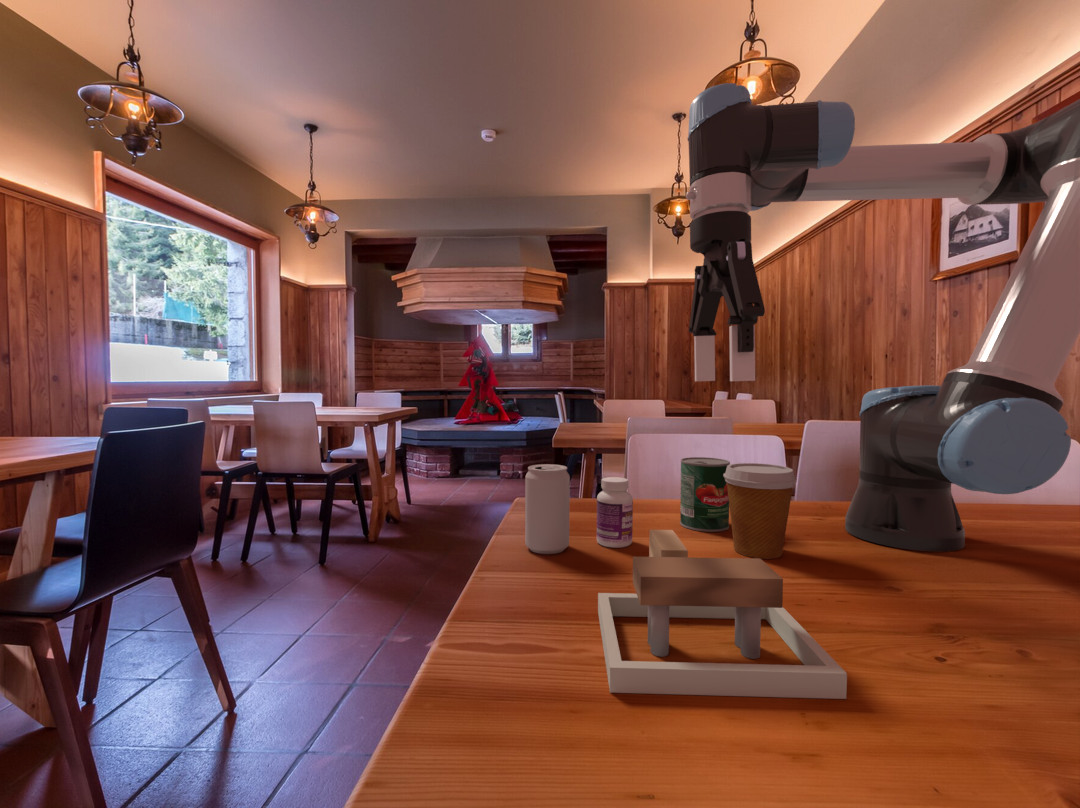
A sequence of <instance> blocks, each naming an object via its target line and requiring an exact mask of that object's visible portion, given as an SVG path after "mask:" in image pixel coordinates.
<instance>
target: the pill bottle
mask: <svg viewBox="0 0 1080 808" xmlns="http://www.w3.org/2000/svg"><path fill="white" fill-rule="evenodd" d="M600 484H601V485H600V486H601V487H600V488H601V489H602V491H600V492H599V493H598V494H597V496H596V542H597V543H598V544H599V545H601V546H602V547H606V548H613V549H617V548H618V549H619V548H620V549H621V548H626V547H629V546H630V545H631V544H632V543H633V525H634V524H633V523H634V522H633V521H634V519H633V518H634V517H633V515H634V511H633V510H634V508H633V504H634V503H633V502H634V500H633V496H632V495H631V493H629V492H628V489H629V479H628V478H624V477H618V476H617V477H616V476H612V477H611V476H610V477H609V476H607V477H604V478H601V483H600Z"/></svg>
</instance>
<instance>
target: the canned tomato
mask: <svg viewBox="0 0 1080 808" xmlns="http://www.w3.org/2000/svg"><path fill="white" fill-rule="evenodd" d="M730 464H731V461H730V460H727V459H724V458H717V457H716V458H715V457H704V456H702V457H700V456H699V457H698V456H693V457H692V456H691V457H684V458H681V459H680V502H679V503H680V511H679V512H680V520H679V524H680V525H681V527H683V528H686V529H688V530H692V531H697V532H703V533H704V532H705V533H706V532H707V533H718V532H719V533H720V532H724V531H728V530H729V528H730V506H729V497H728V489H727V482H726V481H725V478H724V476H723V474H724V473H725V472H726V469H727V466H728V465H730Z"/></svg>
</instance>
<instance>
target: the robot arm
mask: <svg viewBox="0 0 1080 808" xmlns="http://www.w3.org/2000/svg"><path fill="white" fill-rule="evenodd" d="M688 111H689V112H688V113H689V115H688V131H687V132H688V133H687V135H688V136H687V143H688V165H689V191H687V192H686V193H685V199H686V200H688V201H689V217H690V219H692V221H691V222H690V224H689V248H690V250H691V251H692V252H694V253H696V254H701V255H702V256H703V257H704V258H703V263H702V265H695V268H694V285H693V293H692V301H691V307H690V308H691V309H690V318H689V327H688V333H690V334H692V336H693V338H694V382H715V381H716V360H715V359H716V345H715V343H716V342H715V341H716V339H715V337H716V336H717V332H716V330H715V329H714V325H715V322H716V318H717V314H718V310H719V307H720V306H719V305H720V301H721V298H722V297H723V299H724V302H725V304H726V306H727V310H728V312H729V318H728V319H727V322H726V324H727V325H728V326H729V327H728V329H729V330H728V331H729V382H755V381H756V340H755V339H756V329H755V328H756V324H757V323H758V320H759V318H758V317H764V315H765V312H766V311H765V304H764V300H763V297H762V293H761V289H760V284H759V280H758V276H757V272H756V268H755V264H754V260H753V249H752V248H753V247H752V216H751V215H750V214H749V212H753V211H759V210H761V209H763V208H766V207H768V206H769V205H771V203H787V202H788V203H789V202H790V203H791V202H796V203H798V202H834V201H836V202H837V201H840V202H841V201H871V200H872V201H875V200H877V201H878V200H881V201H882V200H920V199H922V200H923V199H924V200H925V199H929V200H930V199H957V200H959V202H960V203H962V204H964V205H968V206H971V205H972V206H973V205H975V206H978V205H979V206H980V205H1014V204H1015V205H1017V204H1033V203H1044V206H1043V209H1041V212H1040V214H1039V216H1038V218H1037V221H1036V222H1035V225H1034V226H1033V228H1032V230H1031V232H1030V235H1029V236H1028V239H1027V241H1026V243H1025V245H1024V247H1023V249H1022V251H1021V253H1020V256H1019V257H1018V258H1017V261H1016V263H1015V266H1014V267H1013V269H1012V271H1011V273H1010V276H1009V277H1008V280H1007V282H1006V284H1005V285H1004V288H1003V290H1002V292H1001V294H1000V296H999V297H998V300H997V302H996V304H995V307H994V308H993V310H992V312H991V314H990V317H989V318H988V320H987V323H986V324H985V327H984V329H983V331H982V333H981V334H980V335H981V336H980V337H979V339H978V342H977V343H976V345H975V347H974V350H973V352H972V353H971V355H970V357H969V359H968V361H967V363H966V364H965V365H961V366H960V367H957V368H954V369H951V370H949V371H947V373H946V375H945V377H944V379H943V381H942V383H941V385H931V384H930V385H929V384H928V385H925V384H924V385H904V386H903V385H902V386H895V387H894V386H892V387H883V388H875V389H872V390H870V391H867V392H866V393H865V394H864V395H863V397H862V398H861V399H862V400H861V405H860V406H861V407H860V411H859V418H860V423H859V424H860V431H859V433H860V434H859V436H860V437H859V474H858V475H859V477H858V484H857V487H856V489H855V491H854V492H855V493H854V494H853V497H852V499H851V502H850V504H849V506H848V509H847V512H846V514H845V522H844V523H845V525H844V526H845V527H844V528H845V529H844V530H845V531H846V532H847V533H848V534H850V535H852V536H854V537H856V538H859V539H861V540H864V541H867V542H871V543H874V544H878V545H881V546H882V545H883V546H887V547H892V548H898V549H903V550H904V549H905V550H912V551H922V552H937V553H938V552H953V551H960V550H962V549H963V548H964V547H965V546H966V545H965V543H966V538H965V537H966V532H965V528H964V526H963V521H962V519H961V517H960V514H959V511H958V508H957V505H956V502H955V500H954V497H953V494H952V485H956V486H958V487H960V488H963V489H965V490H968V491H972V492H982V493H989V494H995V495H1014V494H1020V493H1023V492H1026V491H1030V490H1031V491H1032V490H1033V489H1035V488H1038V487H1040V486H1042V485H1043V484H1046V482H1048V481H1049V480H1051V479H1052V478H1053V477H1054V476H1055V475H1057V473H1058V472H1060V470H1061V468H1063V466H1064V465H1065V462H1067V461H1066V460H1067V459H1068V456H1069V454H1070V450H1071V444H1072V437H1071V435H1069V434H1067V432H1066V431H1067V430H1069V426H1068V422H1067V420H1066V419H1065V417H1064V416H1063V415H1062V413H1060V411H1061V410H1062V407H1063V406H1064V400H1065V399H1064V398H1063V397H1062V396H1061V394H1060V393H1059V392H1058V390H1057V389H1056V387H1055V383H1056V381H1057V379H1058V378H1059V376H1060V373H1061V371H1062V370H1063V367H1064V366H1065V363H1066V362H1067V360H1068V358H1069V355H1070V354H1071V351H1072V349H1073V347H1074V345H1075V344H1076V341H1077V339H1078V337H1079V335H1080V98H1079V99H1077V100H1075V101H1074V102H1072V103H1070V104H1069V105H1066V106H1064V107H1063V108H1061V109H1059V110H1058V111H1056V112H1054V113H1052V114H1050V115H1048V116H1046V117H1044V118H1042V119H1041V120H1038V121H1037V122H1034V123H1032V124H1029V125H1027V126H1025V127H1022V128H1019V129H1015V130H1012V131H1008V132H1001V133H986V134H983V135H981V136H979V137H977V138H976V139H975V140H973V141H970V142H969V141H968V142H967V141H965V142H964V141H963V142H939V143H938V142H936V143H912V144H911V143H908V144H883V145H882V144H879V145H878V144H877V145H873V144H872V145H852V143H853V140H854V136H855V129H856V128H855V127H856V122H855V119H856V118H855V116H856V115H855V113H854V109H853V108H852V106H851V105H850V104H849V103H847V102H845V101H822V100H821V99H819V100H817V101H811V102H809V101H806V102H797V103H796V102H795V103H784V104H783V103H780V104H771V105H770V104H769V105H762V104H755V105H754V104H752V99H751V95H750V91H749V89H748V88H747V87H746V86H745V85H742V84H740V85H737V84H736V83H733V82H727V83H721V84H720V83H719V84H716V85H713V86H711V87H708V88H706V89H705V90H703V91H701V92H699V93H698V95H696V97H695V98H694V99H693V100H692V101H691V104H690V106H689V110H688Z"/></svg>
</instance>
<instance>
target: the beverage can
mask: <svg viewBox="0 0 1080 808" xmlns="http://www.w3.org/2000/svg"><path fill="white" fill-rule="evenodd" d="M527 470H528V471H527V472H526V475H525V478H524V479H525V480H524V482H525V483H524V484H525V490H524V491H525V494H524V495H525V499H524V500H525V502H524V505H525V506H524V507H525V508H524V510H525V511H524V512H525V513H524V514H525V515H524V516H525V517H524V518H525V519H524V520H525V521H524V525H525V526H524V527H525V528H524V529H525V530H524V531H525V533H524V534H525V535H524V538H525V540H524V542H525V546H526V547H527V548H528V549H529V550H530V551H531V552H533V553H536V554H542V555H554V554H559V553H562V552H563V551H566V550H565V549H566V548H568V547H569V545H570V498H571V497H570V487H571V486H570V485H571V484H570V483H571V482H570V481H571V480H570V479H571V478H570V477H571V476H570V474H569V473H568V471H567V470H568V467H567V466H565V465H561V464H553V463H552V464H551V463H550V464H548V463H546V464H545V463H544V464H543V463H541V464H532V465H529V466H528V467H527Z"/></svg>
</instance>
